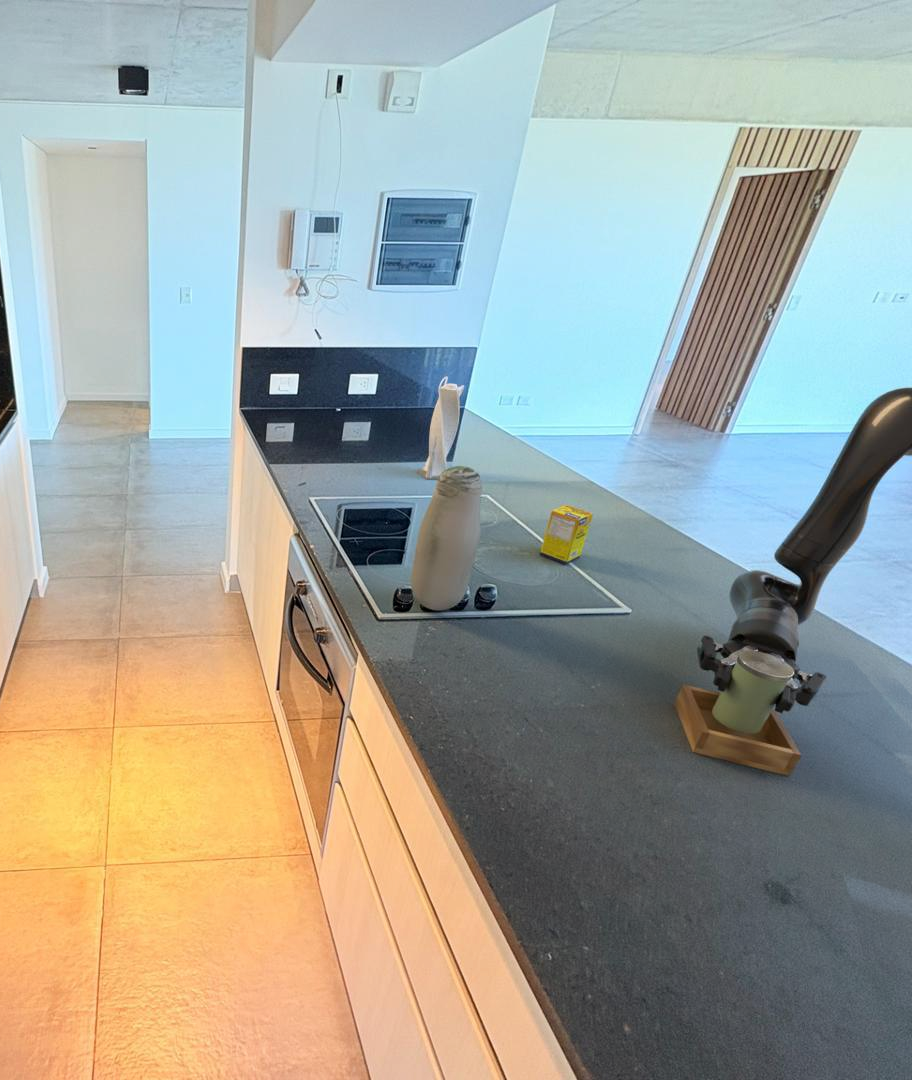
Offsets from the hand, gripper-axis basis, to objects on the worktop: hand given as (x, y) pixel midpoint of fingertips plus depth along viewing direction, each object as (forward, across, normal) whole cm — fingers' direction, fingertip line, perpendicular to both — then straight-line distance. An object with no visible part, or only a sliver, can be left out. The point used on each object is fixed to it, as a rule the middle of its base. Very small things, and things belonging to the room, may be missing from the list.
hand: (751, 695), depth 82 cm
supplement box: (-45, +34, -10) cm, 57 cm away
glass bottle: (-7, +45, -10) cm, 47 cm away
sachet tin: (-3, 0, -6) cm, 7 cm away
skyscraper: (-76, +76, -10) cm, 108 cm away
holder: (-2, 0, -9) cm, 9 cm away
